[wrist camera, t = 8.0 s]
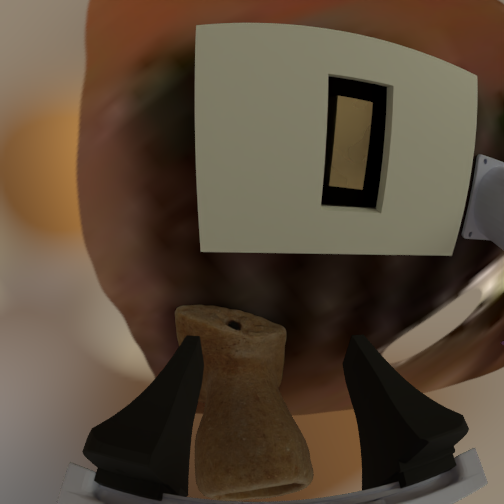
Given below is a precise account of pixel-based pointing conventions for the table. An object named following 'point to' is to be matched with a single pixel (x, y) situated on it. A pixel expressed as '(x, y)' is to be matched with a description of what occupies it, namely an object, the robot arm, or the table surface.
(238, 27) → the box
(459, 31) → the table surface
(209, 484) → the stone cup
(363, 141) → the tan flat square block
